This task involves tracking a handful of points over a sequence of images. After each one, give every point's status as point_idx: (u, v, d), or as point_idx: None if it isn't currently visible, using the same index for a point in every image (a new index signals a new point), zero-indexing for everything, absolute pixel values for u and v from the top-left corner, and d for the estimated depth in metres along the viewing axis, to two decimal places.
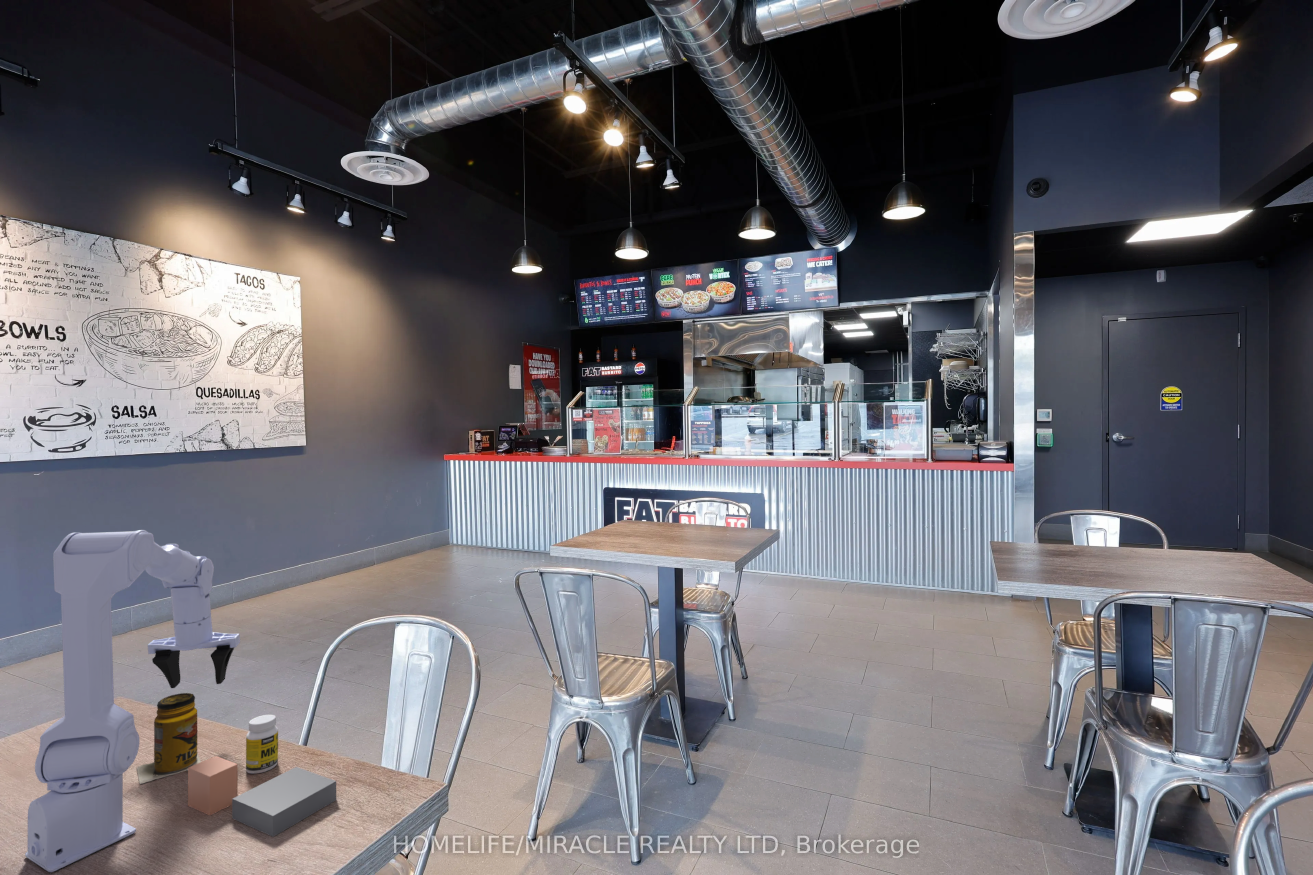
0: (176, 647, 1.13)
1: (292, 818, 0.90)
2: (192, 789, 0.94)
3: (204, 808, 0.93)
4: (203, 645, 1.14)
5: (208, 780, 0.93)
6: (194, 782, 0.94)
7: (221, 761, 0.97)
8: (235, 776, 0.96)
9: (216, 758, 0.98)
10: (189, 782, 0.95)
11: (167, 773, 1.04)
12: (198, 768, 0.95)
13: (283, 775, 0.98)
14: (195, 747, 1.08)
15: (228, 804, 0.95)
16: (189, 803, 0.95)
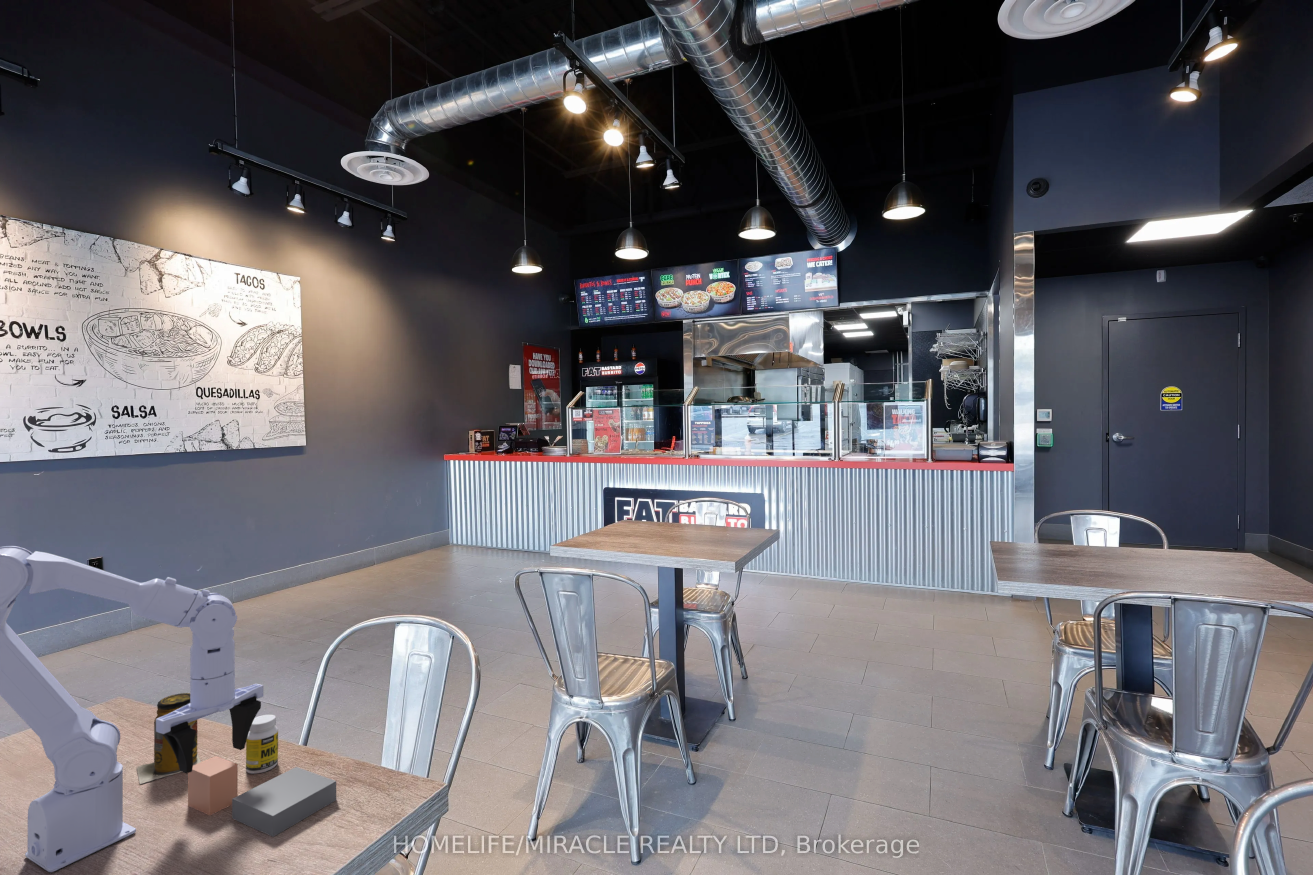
0: None
1: (292, 818, 0.90)
2: (192, 789, 0.94)
3: (204, 808, 0.93)
4: None
5: (208, 780, 0.93)
6: (194, 782, 0.94)
7: (221, 761, 0.97)
8: (235, 776, 0.96)
9: (216, 758, 0.98)
10: (189, 782, 0.95)
11: (167, 773, 1.04)
12: (198, 768, 0.95)
13: (283, 775, 0.98)
14: (195, 747, 1.08)
15: (228, 804, 0.95)
16: (189, 803, 0.95)
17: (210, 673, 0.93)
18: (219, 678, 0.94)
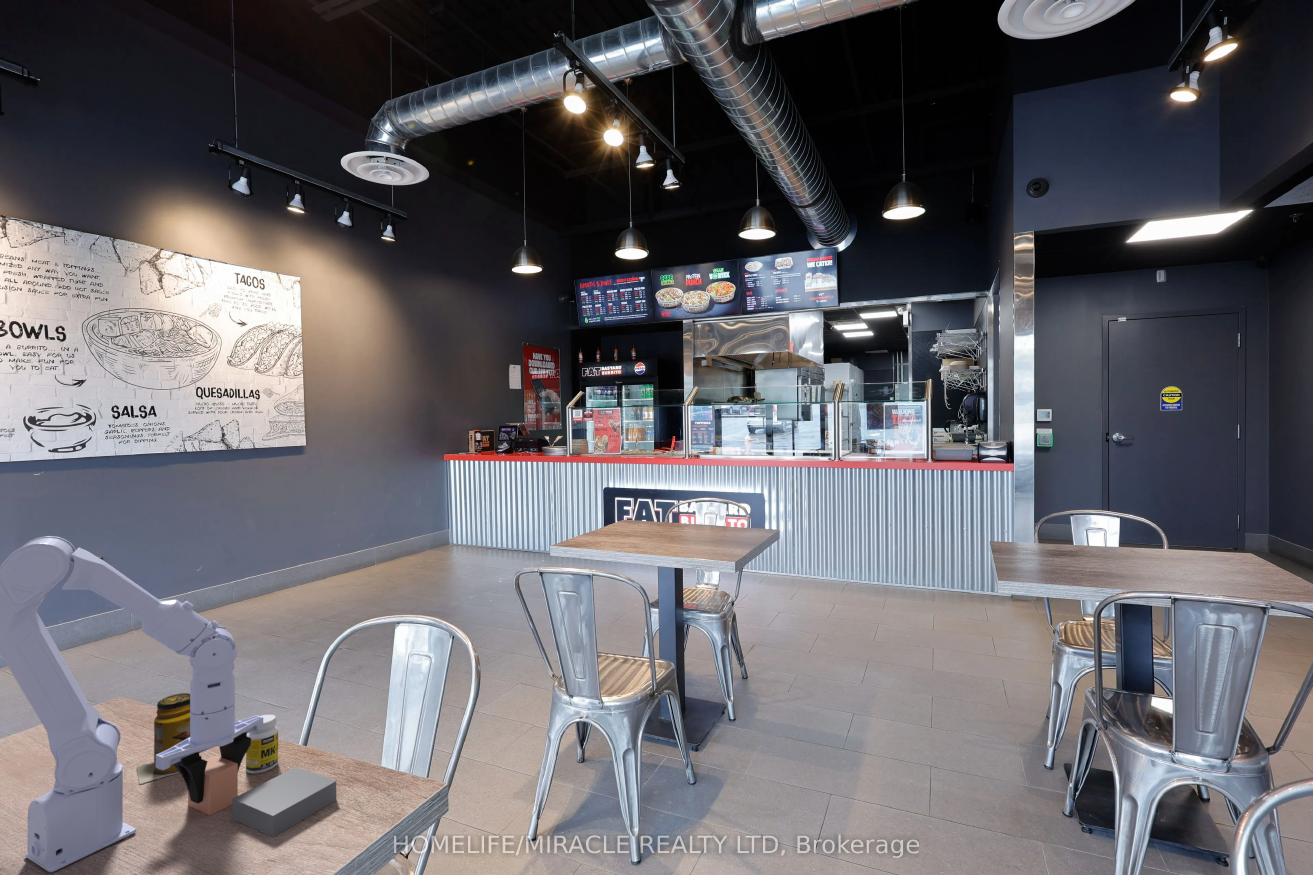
0: None
1: (292, 818, 0.90)
2: None
3: (204, 808, 0.93)
4: None
5: (208, 779, 0.93)
6: None
7: (221, 760, 0.97)
8: (235, 776, 0.96)
9: (216, 758, 0.98)
10: None
11: (167, 773, 1.04)
12: None
13: (283, 775, 0.98)
14: None
15: (228, 804, 0.95)
16: (189, 803, 0.95)
17: (210, 708, 0.93)
18: (219, 712, 0.94)
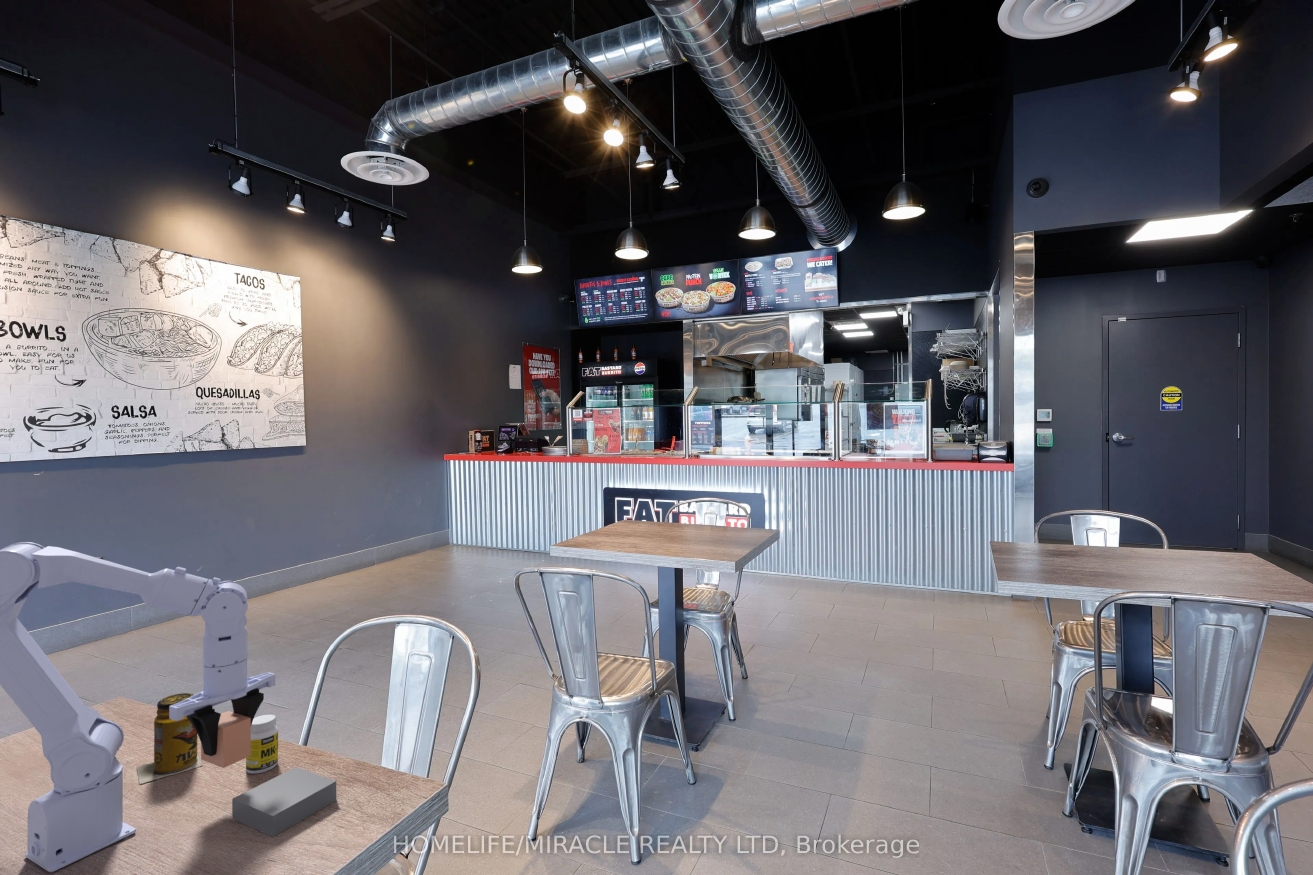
0: None
1: (292, 818, 0.90)
2: None
3: (217, 760, 0.93)
4: None
5: (221, 732, 0.92)
6: None
7: (233, 715, 0.97)
8: (248, 730, 0.96)
9: (229, 713, 0.98)
10: None
11: (167, 773, 1.04)
12: None
13: (283, 775, 0.98)
14: (195, 747, 1.08)
15: (241, 757, 0.95)
16: (202, 756, 0.95)
17: (221, 661, 0.93)
18: (232, 666, 0.94)
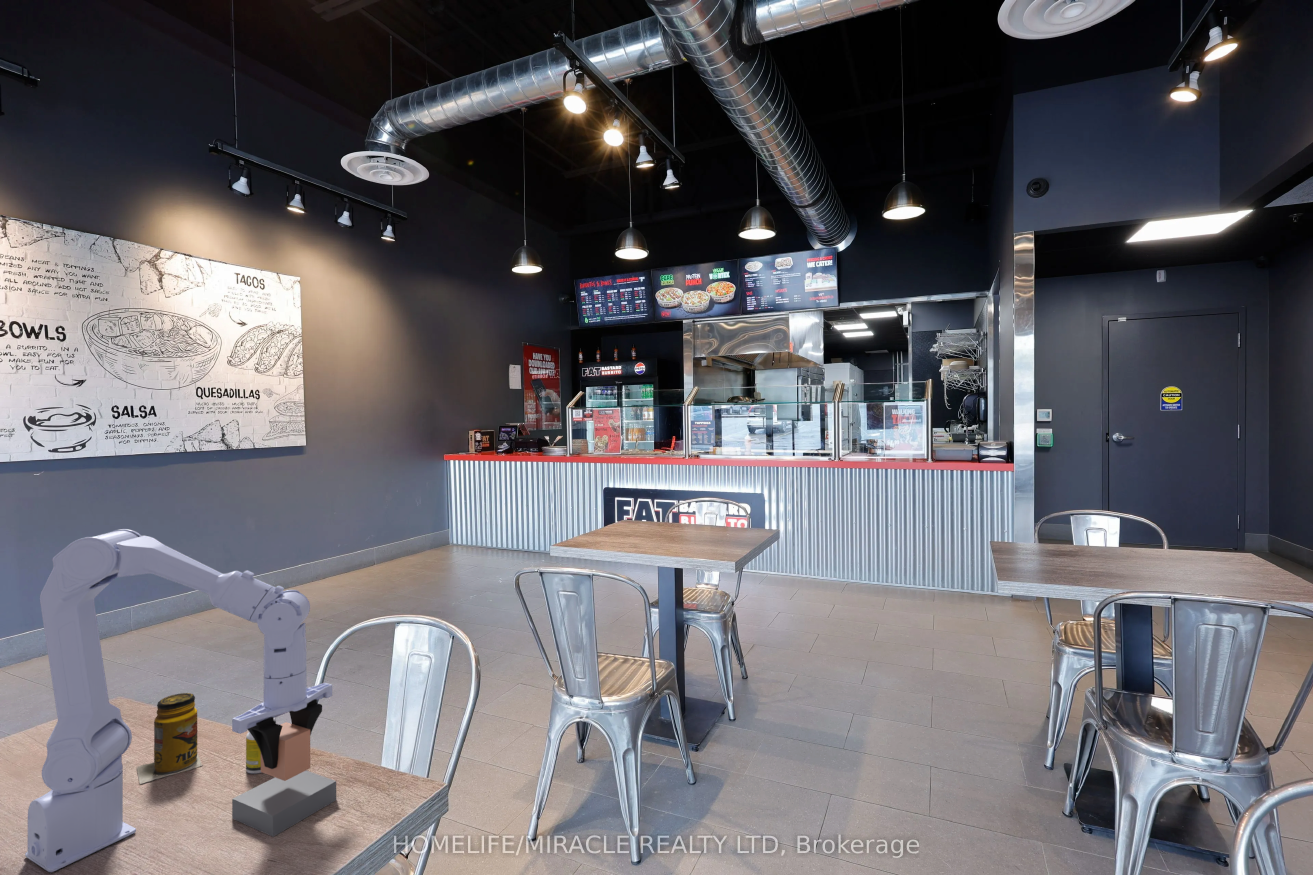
0: None
1: (292, 818, 0.90)
2: None
3: (279, 773, 0.91)
4: None
5: (283, 744, 0.91)
6: None
7: (292, 726, 0.95)
8: (308, 742, 0.94)
9: (287, 724, 0.96)
10: None
11: (167, 773, 1.04)
12: None
13: None
14: (195, 747, 1.08)
15: (302, 770, 0.93)
16: (262, 769, 0.93)
17: (276, 673, 0.91)
18: (293, 677, 0.92)
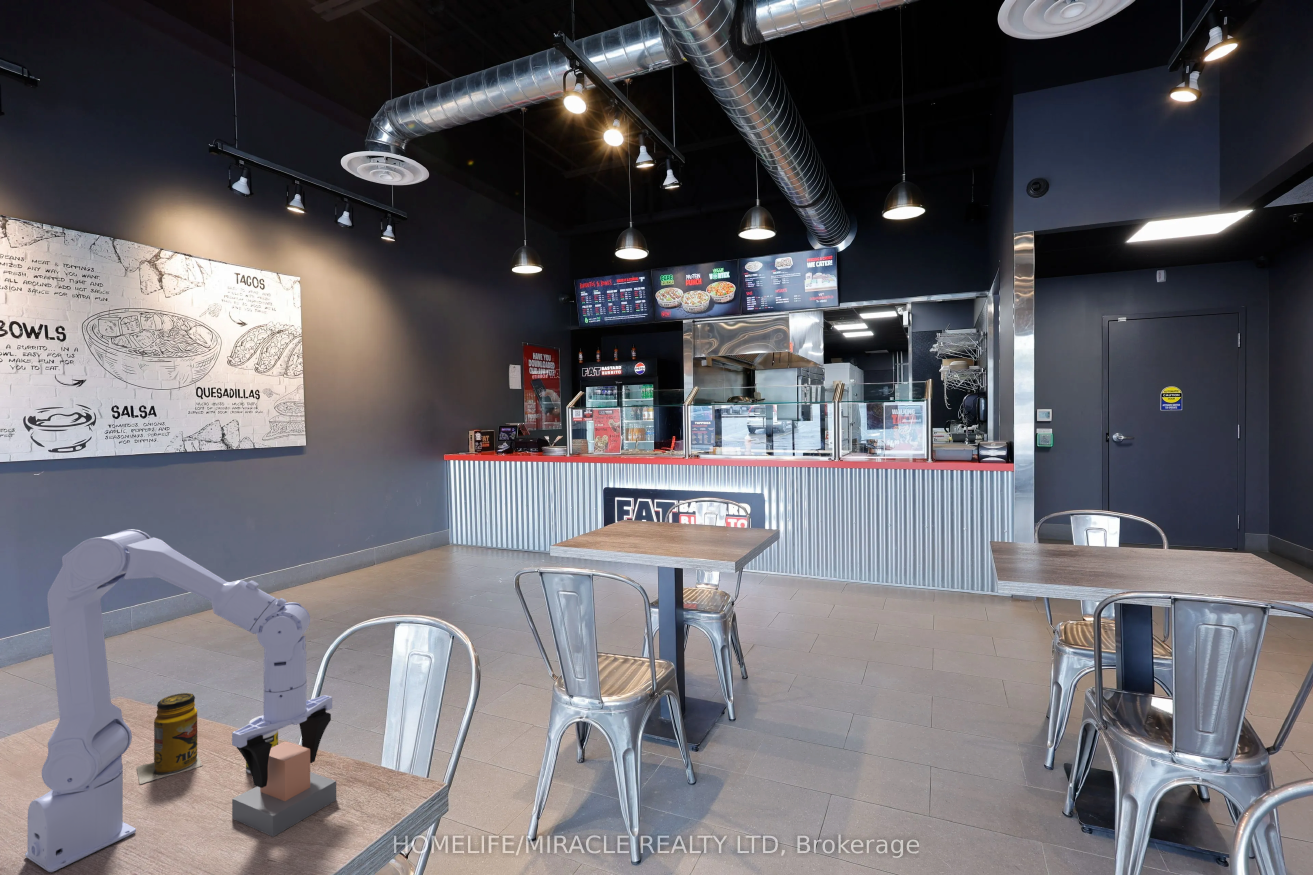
0: None
1: (292, 818, 0.90)
2: None
3: (279, 793, 0.91)
4: None
5: (283, 765, 0.91)
6: None
7: (292, 746, 0.95)
8: (308, 761, 0.94)
9: (287, 743, 0.96)
10: None
11: (167, 773, 1.04)
12: (271, 753, 0.93)
13: None
14: (195, 747, 1.08)
15: (302, 789, 0.93)
16: (261, 789, 0.93)
17: (276, 686, 0.91)
18: (293, 690, 0.92)
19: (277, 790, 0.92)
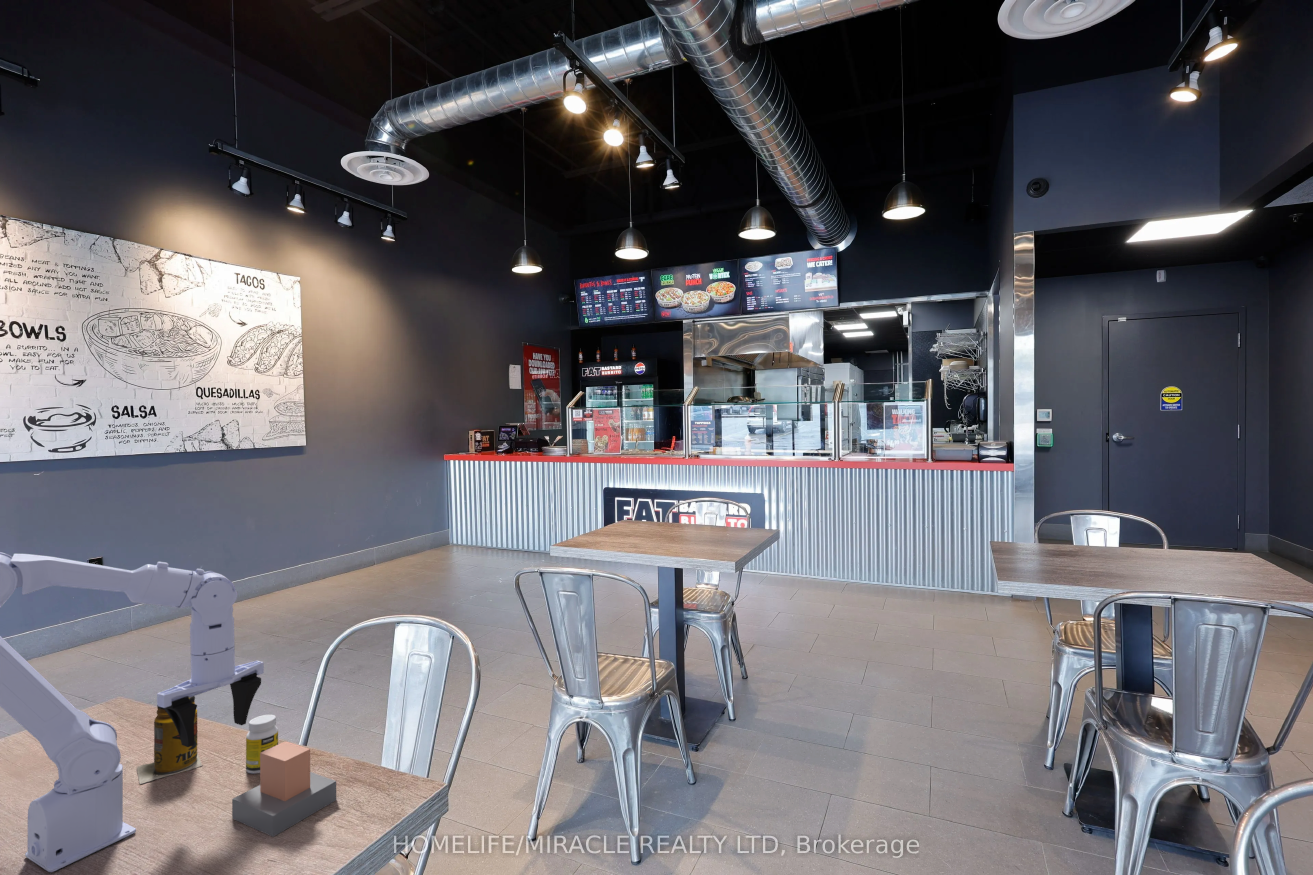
0: None
1: (292, 818, 0.90)
2: (265, 774, 0.93)
3: (279, 793, 0.91)
4: None
5: (283, 765, 0.91)
6: (267, 767, 0.93)
7: (292, 746, 0.95)
8: (308, 761, 0.94)
9: (287, 743, 0.96)
10: (261, 767, 0.93)
11: (167, 773, 1.04)
12: (271, 753, 0.93)
13: None
14: (195, 747, 1.08)
15: (302, 789, 0.93)
16: (261, 789, 0.93)
17: (212, 648, 0.95)
18: (219, 654, 0.95)
19: (277, 790, 0.92)
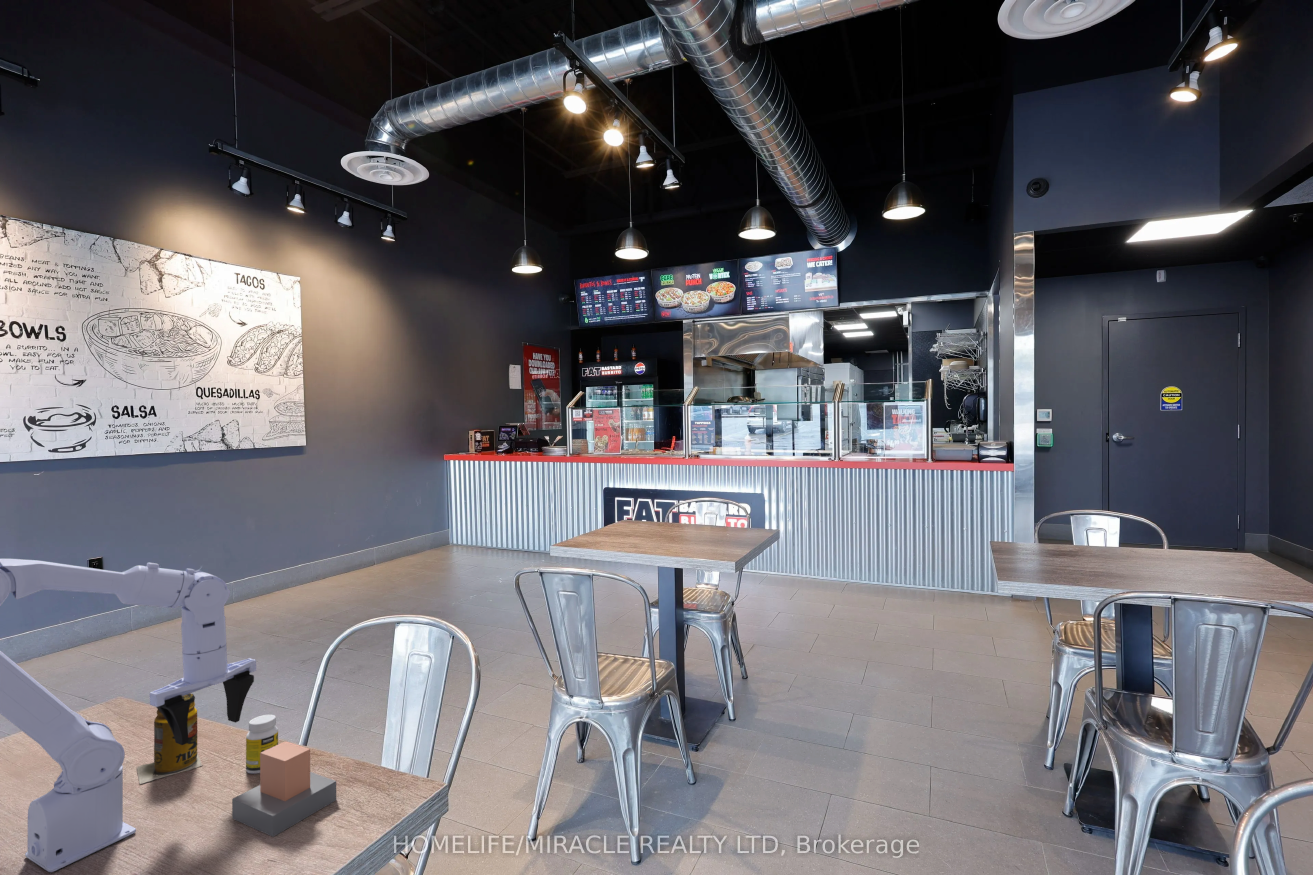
0: None
1: (292, 818, 0.90)
2: (265, 774, 0.93)
3: (279, 793, 0.91)
4: None
5: (283, 765, 0.91)
6: (267, 767, 0.93)
7: (292, 746, 0.95)
8: (308, 761, 0.94)
9: (287, 743, 0.96)
10: (261, 767, 0.93)
11: (167, 773, 1.04)
12: (271, 753, 0.93)
13: None
14: (195, 747, 1.08)
15: (302, 789, 0.93)
16: (261, 789, 0.93)
17: (206, 647, 0.95)
18: (211, 652, 0.96)
19: (277, 790, 0.92)
